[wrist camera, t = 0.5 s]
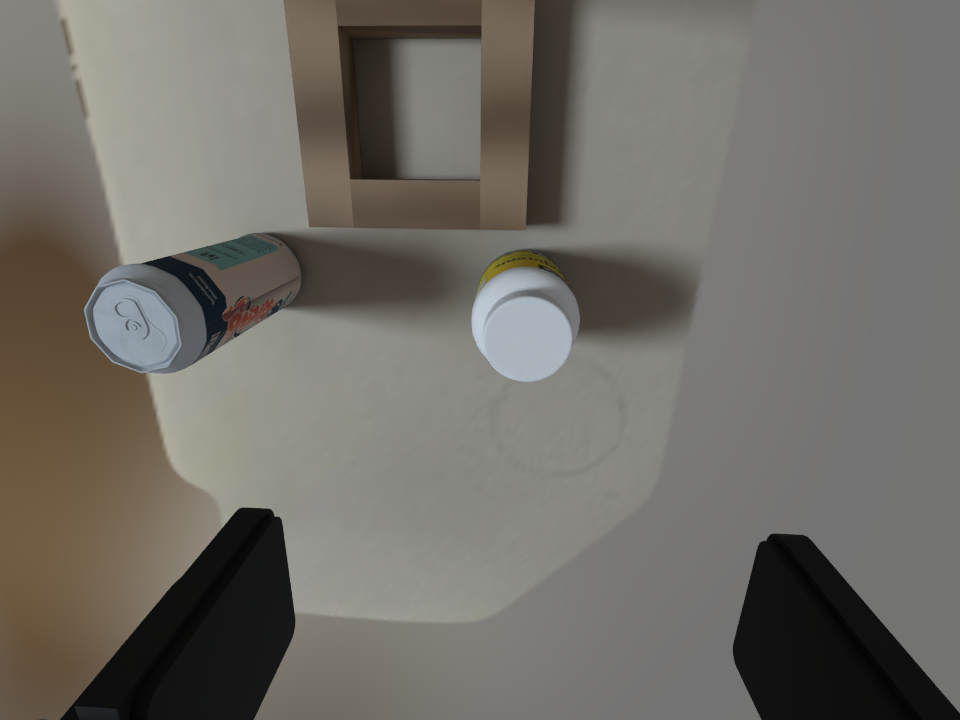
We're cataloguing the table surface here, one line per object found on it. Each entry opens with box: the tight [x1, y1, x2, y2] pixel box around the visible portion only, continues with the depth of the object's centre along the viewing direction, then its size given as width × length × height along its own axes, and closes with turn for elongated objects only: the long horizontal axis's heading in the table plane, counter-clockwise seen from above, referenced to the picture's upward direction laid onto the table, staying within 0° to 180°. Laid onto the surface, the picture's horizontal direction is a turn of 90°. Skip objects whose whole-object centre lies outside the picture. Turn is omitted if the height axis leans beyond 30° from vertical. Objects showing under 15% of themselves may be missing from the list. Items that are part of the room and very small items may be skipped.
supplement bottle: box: [472, 250, 580, 382], centre depth 26 cm, size 5×5×10 cm
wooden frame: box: [284, 0, 535, 230], centre depth 26 cm, size 12×12×2 cm
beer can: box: [84, 233, 302, 373], centre depth 26 cm, size 5×5×12 cm
